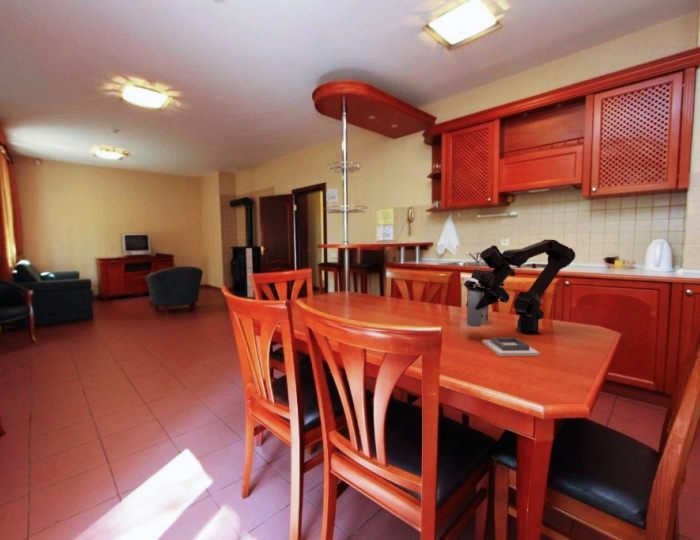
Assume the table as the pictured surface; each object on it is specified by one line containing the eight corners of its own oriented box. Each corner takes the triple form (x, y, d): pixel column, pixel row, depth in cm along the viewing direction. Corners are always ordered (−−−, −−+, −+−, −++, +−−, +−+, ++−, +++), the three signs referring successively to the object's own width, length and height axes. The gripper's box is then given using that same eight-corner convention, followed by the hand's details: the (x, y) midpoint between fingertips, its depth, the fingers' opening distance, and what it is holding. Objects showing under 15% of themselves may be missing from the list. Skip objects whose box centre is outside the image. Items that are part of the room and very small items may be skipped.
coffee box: (488, 324, 143) (490, 287, 141) (473, 323, 143) (475, 287, 141) (480, 318, 152) (482, 283, 150) (466, 318, 152) (467, 283, 150)
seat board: (518, 342, 119) (518, 335, 119) (539, 355, 106) (539, 348, 106) (482, 342, 119) (482, 335, 118) (499, 355, 106) (499, 348, 106)
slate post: (477, 323, 125) (479, 290, 124) (482, 326, 120) (484, 292, 119) (465, 323, 125) (466, 290, 123) (469, 326, 120) (471, 292, 119)
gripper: (468, 260, 130) (443, 289, 128) (504, 264, 112) (476, 298, 110) (484, 278, 133) (460, 307, 131) (521, 286, 116) (494, 319, 113)
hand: (471, 307), depth 121 cm, fingers closed on slate post, 5 cm apart
